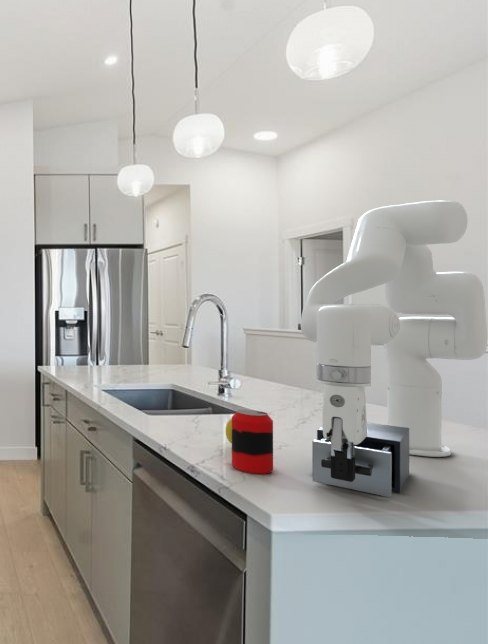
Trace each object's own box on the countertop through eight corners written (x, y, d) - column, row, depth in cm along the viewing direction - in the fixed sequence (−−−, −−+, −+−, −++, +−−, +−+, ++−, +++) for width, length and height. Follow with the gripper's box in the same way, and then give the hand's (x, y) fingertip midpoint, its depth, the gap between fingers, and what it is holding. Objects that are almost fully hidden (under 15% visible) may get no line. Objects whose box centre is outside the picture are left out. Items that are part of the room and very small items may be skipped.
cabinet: (400, 493, 92) (400, 441, 92) (317, 476, 102) (317, 429, 102) (409, 474, 102) (409, 427, 102) (332, 460, 112) (332, 418, 111)
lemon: (255, 452, 118) (255, 418, 118) (230, 451, 120) (230, 418, 119) (246, 445, 124) (246, 413, 124) (222, 444, 125) (222, 413, 125)
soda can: (280, 475, 103) (279, 417, 103) (240, 473, 104) (240, 416, 104) (263, 463, 110) (263, 409, 110) (226, 462, 111) (226, 408, 111)
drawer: (387, 504, 85) (387, 458, 85) (306, 486, 94) (306, 445, 94) (400, 478, 97) (400, 439, 97) (328, 465, 106) (328, 428, 106)
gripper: (362, 382, 80) (362, 495, 81) (377, 373, 90) (377, 474, 91) (306, 377, 86) (306, 483, 86) (326, 369, 96) (326, 465, 96)
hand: (342, 478), depth 88 cm, fingers closed
